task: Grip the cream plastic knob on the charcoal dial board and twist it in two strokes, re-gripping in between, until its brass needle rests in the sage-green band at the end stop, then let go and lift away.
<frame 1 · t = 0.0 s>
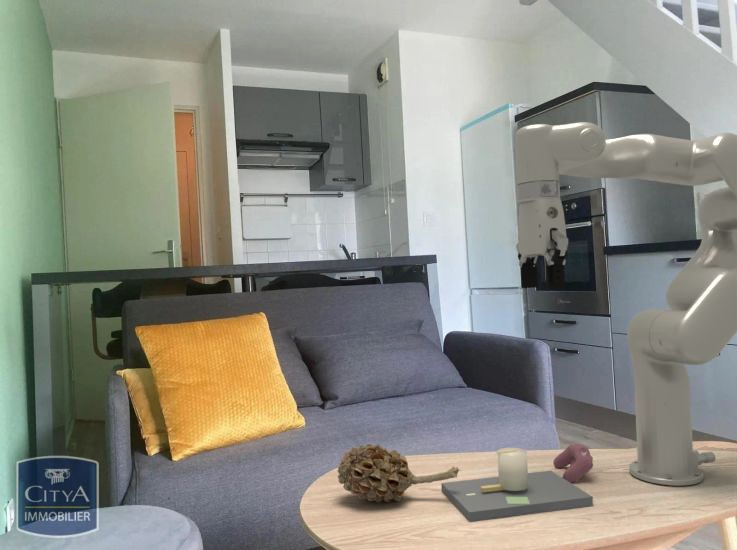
hand: (542, 287, 107), 37 cm above the table, tool pointing down, fingers open, 9 cm apart
video game controller: (573, 476, 114), on the table
dial board: (513, 498, 103), on the table
pine cone: (400, 501, 105), on the table
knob: (503, 471, 103), point 5 cm above the table, hinge at 0.0°
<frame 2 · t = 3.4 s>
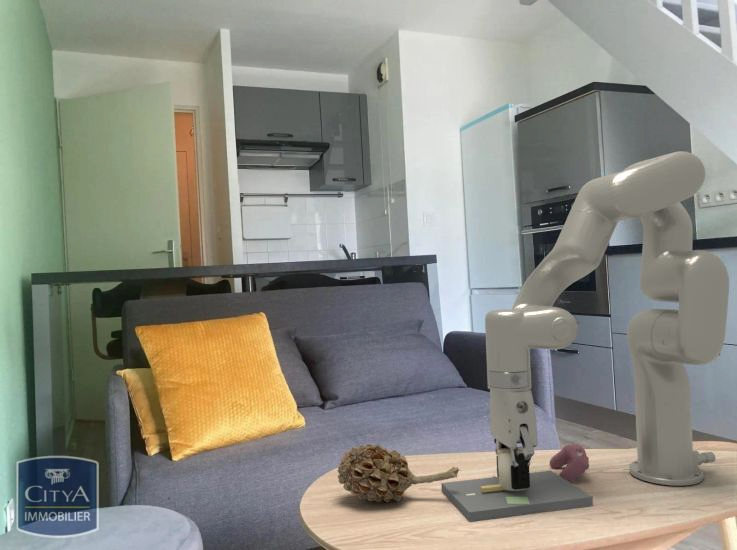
hand: (513, 481, 103), 3 cm above the table, tool pointing down, fingers closed on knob, 5 cm apart
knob: (503, 471, 103), point 5 cm above the table, hinge at 0.0°, touching gripper
everything else where it was.
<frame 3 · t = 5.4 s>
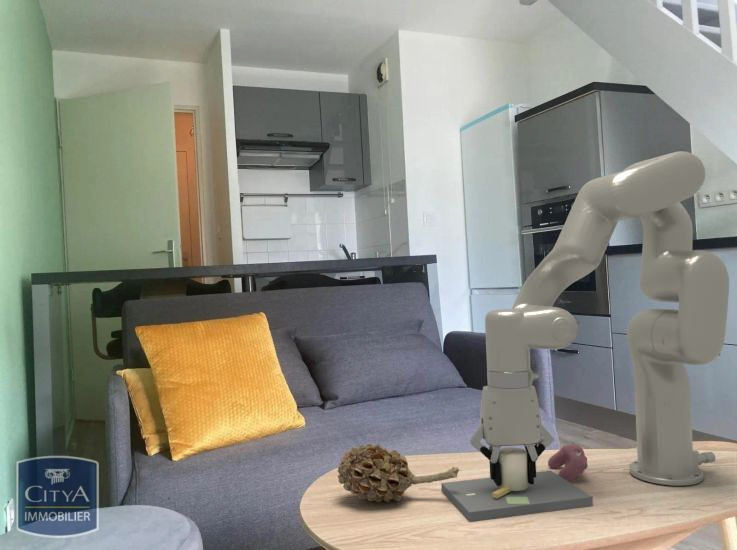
hand: (513, 481, 104), 3 cm above the table, tool pointing down, fingers closed on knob, 5 cm apart
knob: (507, 472, 102), point 5 cm above the table, hinge at 34.0°, touching gripper
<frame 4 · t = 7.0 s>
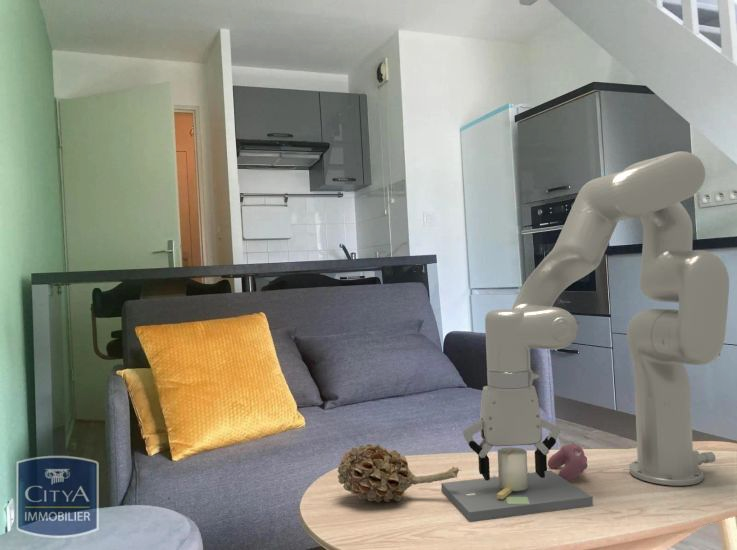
hand: (513, 476, 103), 4 cm above the table, tool pointing down, fingers open, 9 cm apart
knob: (508, 472, 102), point 5 cm above the table, hinge at 42.5°
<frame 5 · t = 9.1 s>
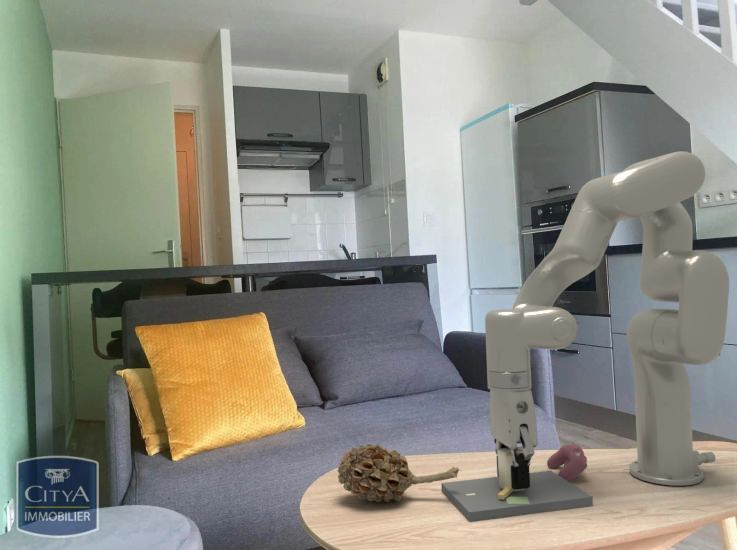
hand: (513, 481, 103), 3 cm above the table, tool pointing down, fingers closed on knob, 5 cm apart
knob: (509, 473, 102), point 5 cm above the table, hinge at 44.0°, touching gripper
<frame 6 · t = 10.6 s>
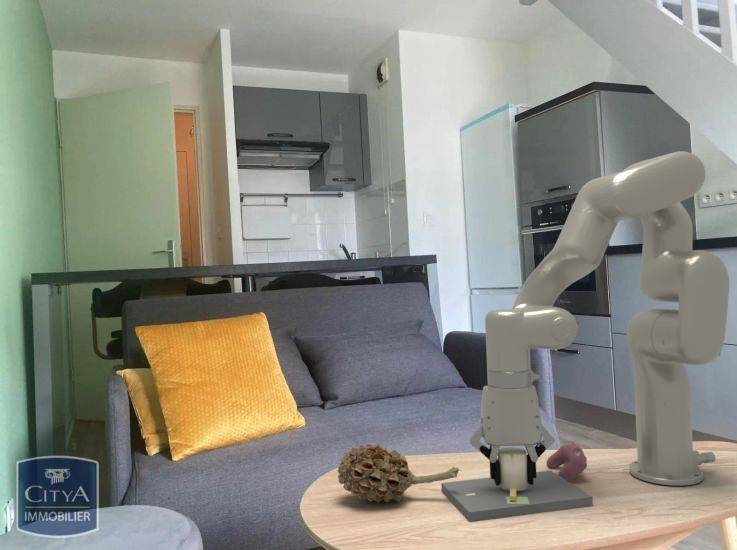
hand: (513, 481, 103), 3 cm above the table, tool pointing down, fingers closed on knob, 5 cm apart
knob: (512, 473, 102), point 5 cm above the table, hinge at 63.9°, touching gripper
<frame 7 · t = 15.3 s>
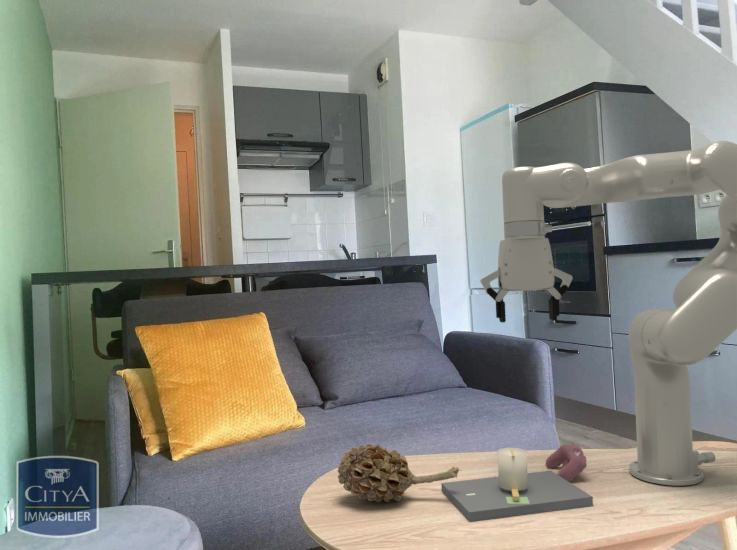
hand: (527, 320, 113), 30 cm above the table, tool pointing down, fingers open, 9 cm apart
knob: (513, 473, 102), point 5 cm above the table, hinge at 68.9°
at the end: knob at +69° (first picture: +0°); the gripper is holding nothing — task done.
